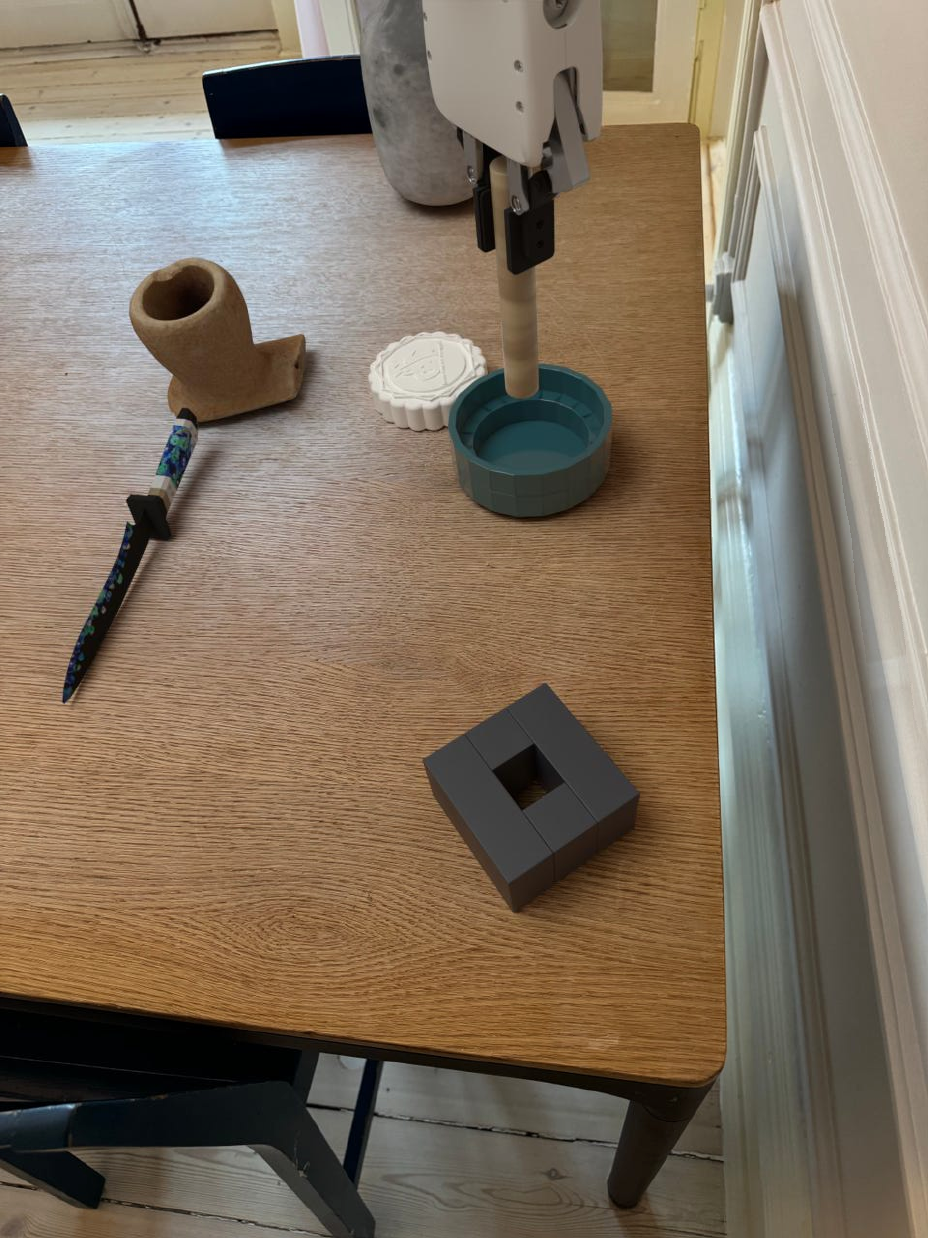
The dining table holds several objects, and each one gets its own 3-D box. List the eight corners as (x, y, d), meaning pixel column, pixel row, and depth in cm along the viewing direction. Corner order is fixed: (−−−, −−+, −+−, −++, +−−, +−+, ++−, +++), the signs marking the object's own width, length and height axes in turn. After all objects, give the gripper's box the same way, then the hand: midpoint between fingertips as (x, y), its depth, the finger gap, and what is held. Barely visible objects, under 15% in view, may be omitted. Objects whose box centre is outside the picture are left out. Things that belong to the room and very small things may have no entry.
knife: (195, 433, 85) (176, 402, 82) (222, 437, 85) (204, 405, 81) (53, 710, 72) (22, 688, 68) (84, 716, 71) (54, 694, 67)
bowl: (548, 393, 86) (547, 343, 81) (641, 473, 78) (646, 424, 73) (427, 456, 82) (418, 408, 77) (512, 547, 74) (508, 500, 70)
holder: (547, 722, 64) (545, 681, 59) (634, 828, 59) (640, 793, 54) (433, 796, 62) (421, 759, 57) (513, 913, 56) (508, 884, 51)
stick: (525, 372, 62) (515, 147, 49) (545, 389, 61) (540, 163, 48) (499, 386, 61) (481, 163, 48) (518, 403, 60) (505, 178, 47)
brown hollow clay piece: (171, 450, 86) (106, 323, 74) (173, 377, 93) (114, 250, 81) (318, 420, 87) (278, 289, 74) (310, 350, 94) (271, 219, 81)
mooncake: (371, 363, 91) (364, 335, 88) (482, 347, 91) (479, 318, 88) (375, 440, 84) (368, 412, 81) (495, 423, 84) (493, 394, 81)
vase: (401, 160, 116) (356, -123, 92) (517, 160, 113) (503, -133, 88) (370, 225, 107) (312, -69, 83) (496, 227, 104) (473, -77, 80)
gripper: (686, -118, 35) (649, 286, 50) (465, -180, 43) (491, 182, 58) (537, -63, 33) (546, 340, 48) (337, -140, 41) (398, 224, 56)
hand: (515, 251), depth 53 cm, fingers closed on stick, 2 cm apart
